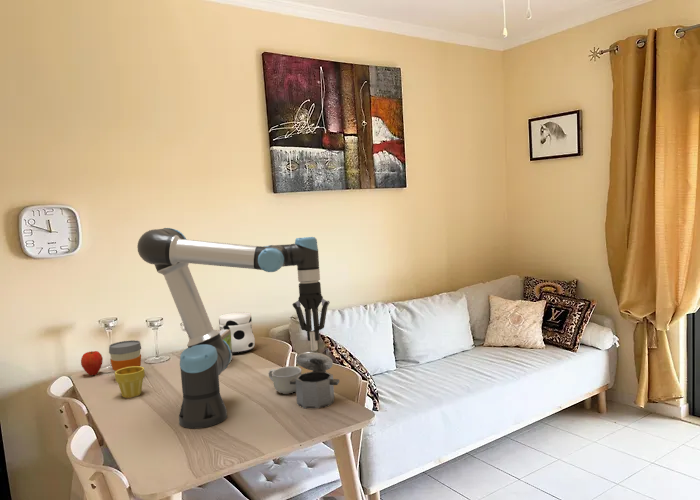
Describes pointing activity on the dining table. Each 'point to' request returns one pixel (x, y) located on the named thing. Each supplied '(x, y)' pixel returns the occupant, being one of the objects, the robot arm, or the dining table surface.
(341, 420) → the dining table surface
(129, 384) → the plant pot
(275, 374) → the teacup
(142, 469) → the dining table surface
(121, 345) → the reusable coffee cup
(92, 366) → the apple
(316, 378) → the cooker
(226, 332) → the tea box
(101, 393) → the dining table surface
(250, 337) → the milk container
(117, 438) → the dining table surface
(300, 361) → the lid
